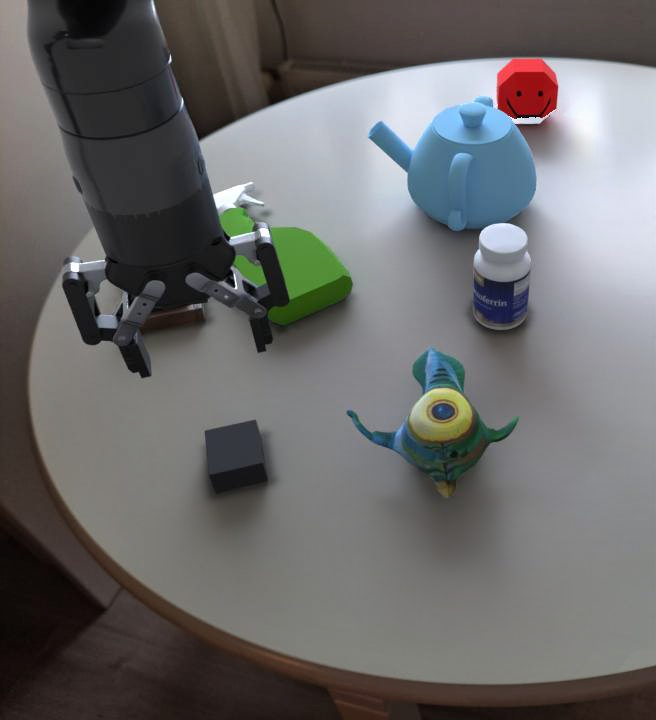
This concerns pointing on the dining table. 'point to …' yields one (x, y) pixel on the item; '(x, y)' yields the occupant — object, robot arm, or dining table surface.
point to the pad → (235, 456)
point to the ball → (527, 89)
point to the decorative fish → (440, 424)
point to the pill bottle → (501, 277)
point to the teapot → (465, 165)
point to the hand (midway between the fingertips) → (204, 357)
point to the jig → (174, 317)
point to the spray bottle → (287, 260)
